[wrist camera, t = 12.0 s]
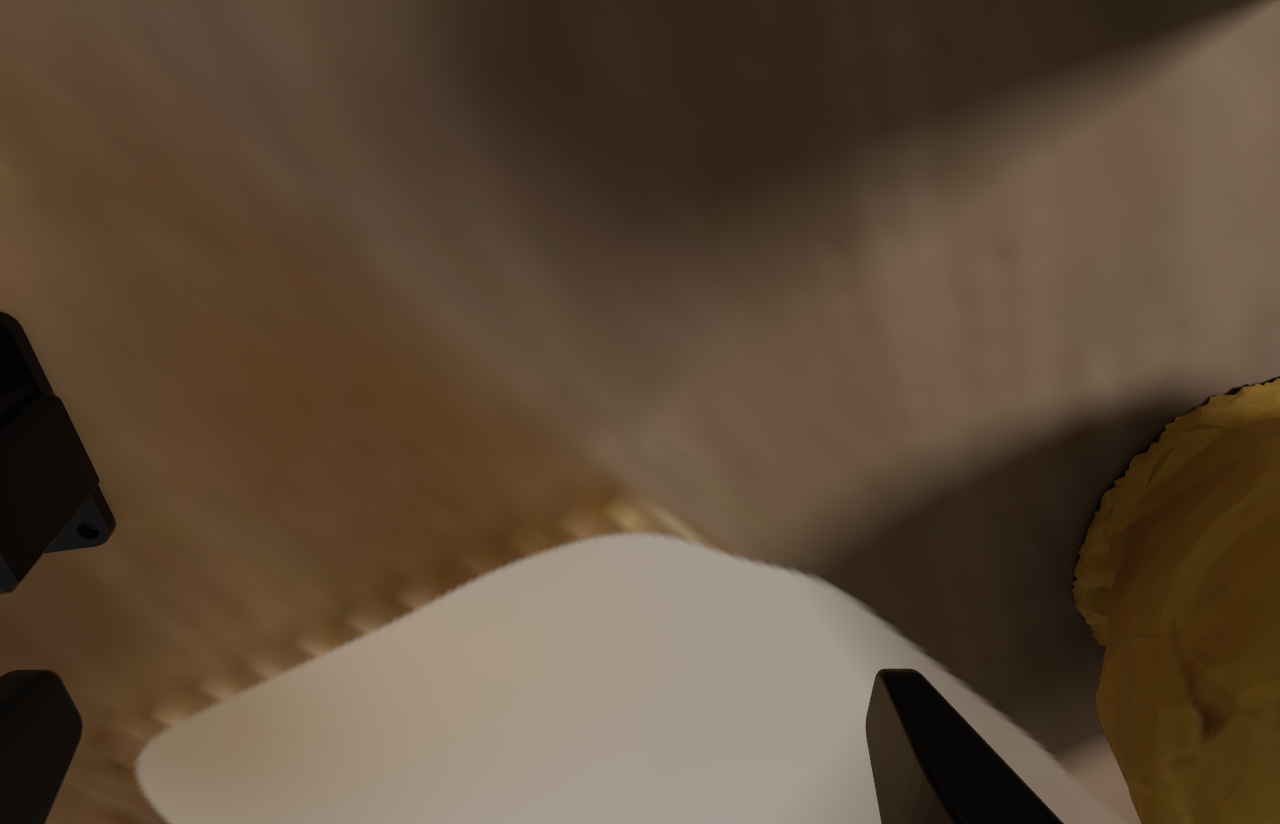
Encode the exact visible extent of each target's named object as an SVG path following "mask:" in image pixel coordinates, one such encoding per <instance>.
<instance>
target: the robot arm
mask: <svg viewBox="0 0 1280 824" xmlns="http://www.w3.org/2000/svg"><path fill="white" fill-rule="evenodd" d="M0 334H1V336H2V339H3V341H1V340H0V594H3V593H11V592H12V591H13V590H15V589H16V588H17V586H18V585H19V584H20V583H21V581H22V580H23V579H24V578H25V576H26V575H27V574H28V573H29V571H30V570H31V569H32V568H33V566H34V565H35V564H36V563H37V561H38V560H39V559H40V558H41V556H42V555H43V554H44V553H49V552H57V551H65V550H72V549H80V548H87V547H95V546H99V545H102V544H104V543H105V542H106V541H107V540H108V539H109V537H110V536H111V535H112V533H113V532H114V530H115V527H116V523H115V519H114V517H113V515H112V513H111V511H110V509H109V506H108V504H107V502H106V500H105V498H104V496H103V494H102V492H101V490H100V488H99V486H98V484H99V478H98V476H97V473H96V471H95V469H94V467H93V465H92V463H91V461H90V459H89V457H88V455H87V453H86V450H85V448H84V446H83V444H82V442H81V440H80V438H79V436H78V434H77V432H76V430H75V428H74V425H73V423H72V421H71V419H70V417H69V415H68V413H67V411H66V409H65V407H64V405H63V402H62V400H61V399H60V398H59V397H58V396H56V395H55V394H54V392H53V390H52V388H51V386H50V384H49V382H48V380H47V378H46V376H45V374H44V371H43V369H42V367H41V365H40V363H39V361H38V359H37V357H36V355H35V353H34V351H33V349H32V347H31V344H30V342H29V340H28V338H27V336H26V334H25V332H24V330H23V328H22V327H21V325H20V324H19V322H18V321H17V320H16V319H14V318H13V317H12V316H10V315H9V314H6V313H3V312H1V311H0ZM85 523H87V524H92V525H94V526H95V527H96V528H97V529H98V530H93V529H91V528H89V527H87V526H86V524H85ZM82 729H83V723H82V718H81V715H80V713H79V711H78V710H77V708H76V706H75V704H74V702H73V700H72V698H71V697H70V695H69V693H68V691H67V689H66V687H65V685H64V684H63V682H62V680H61V678H60V677H59V676H58V675H57V674H56V673H55V672H53V671H50V670H16V671H12V672H9V673H6V674H5V675H3V676H1V677H0V824H45V823H46V821H47V818H48V816H49V813H50V811H51V809H52V806H53V804H54V802H55V799H56V797H57V795H58V792H59V790H60V788H61V785H62V783H63V780H64V778H65V776H66V773H67V771H68V769H69V766H70V764H71V762H72V759H73V757H74V754H75V752H76V750H77V747H78V745H79V742H80V739H81V735H82ZM866 737H867V743H868V749H869V755H870V760H871V766H872V771H873V777H874V783H875V788H876V794H877V799H878V805H879V811H880V817H881V822H882V824H1064V823H1063V822H1062V821H1060V819H1059V818H1058V817H1057V816H1056V815H1055V814H1054V813H1053V812H1052V811H1051V810H1050V809H1049V808H1048V807H1047V806H1046V805H1045V803H1043V801H1042V800H1041V799H1040V798H1039V797H1038V796H1037V795H1036V794H1035V793H1034V792H1033V791H1032V790H1031V789H1030V788H1029V787H1028V786H1027V785H1026V783H1024V781H1023V780H1022V779H1021V778H1020V777H1019V776H1018V775H1017V774H1016V773H1015V772H1014V771H1013V770H1012V769H1011V768H1010V767H1009V766H1008V765H1007V764H1006V762H1005V761H1004V760H1003V759H1001V757H1000V756H999V755H998V754H997V753H996V752H995V751H994V750H993V749H992V748H991V747H990V746H989V745H988V744H987V743H986V742H985V740H984V739H983V738H982V737H981V736H980V735H979V734H978V733H977V732H976V731H975V730H974V729H973V728H972V727H971V726H970V725H969V724H968V723H967V721H966V720H965V719H964V718H963V717H962V716H961V715H960V714H959V713H958V712H957V711H956V710H955V709H954V708H953V707H952V706H951V705H950V704H949V703H948V702H947V700H946V699H944V697H943V696H942V695H941V694H940V693H939V692H938V691H937V690H936V689H935V688H934V687H933V686H932V685H931V684H930V683H929V682H928V681H927V679H926V678H925V677H924V676H923V675H922V674H921V673H919V672H918V671H916V670H913V669H882V670H880V671H879V672H878V673H877V675H876V677H875V681H874V685H873V690H872V695H871V698H870V703H869V707H868V712H867V717H866Z"/></svg>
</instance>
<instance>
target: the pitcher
mask: <svg viewBox="0 0 1280 824" xmlns="http://www.w3.org/2000/svg"><path fill="white" fill-rule="evenodd" d="M1165 428H1166V430H1167V431H1164V432H1162V434H1161V436H1160V439H1159V442H1156V443H1151V445H1150V447H1149V450H1148V452H1147V453H1142V454H1138V455H1136V456H1134V458H1133V459H1132V461H1131V462H1130V464H1129V467H1130V469H1129V470H1127V471H1126V472H1125V477H1123V478H1120V479H1118V480H1116V481H1114V482H1115V486H1116V487H1114V488H1112V489H1110V490H1108V491H1107V492H1106V493H1105V494H1104V496H1103V497H1102V500H1101V509H1100V510H1099V511H1098V512H1095V511H1094V512H1095V518H1094V519H1093V521H1092V524H1091V526H1090V527H1089V528H1088V532H1087V536H1086V540H1085V543H1084V545H1082V546H1081V548H1082V550H1080V551H1078V553H1079V554H1080V555H1081V557H1080V559H1079V561H1078V563H1077V566H1076V569H1075V573H1074V576H1075V577H1076V578H1077V580H1076V581H1075V582H1074V583H1073V584H1072V585H1074V586H1075V587H1074V589H1073V590H1072V592H1073V593H1074V595H1073V598H1074V600H1075V608H1076V609H1077V610H1078V611H1079V612H1080V613H1081V614H1082V615H1083V616H1084V617H1085V618H1086V619H1085V621H1084V622H1086V623H1087V624H1090V631H1093V633H1091V635H1092V636H1093V637H1094V638H1096V639H1097V640H1096V641H1097V643H1098V644H1099V645H1102V646H1106V650H1105V655H1104V661H1103V666H1102V671H1101V677H1100V682H1099V687H1098V689H1097V692H1096V695H1095V698H1096V707H1097V716H1098V718H1099V721H1100V723H1101V726H1102V728H1103V731H1104V733H1105V735H1106V737H1107V740H1108V742H1109V744H1110V747H1111V749H1112V751H1113V754H1114V756H1115V758H1116V761H1117V763H1118V765H1119V767H1120V770H1121V772H1122V774H1123V776H1124V779H1125V781H1126V783H1127V785H1128V788H1129V792H1130V797H1131V799H1132V802H1133V804H1134V807H1135V809H1136V811H1137V814H1138V816H1139V819H1140V821H1141V824H1280V378H1279V379H1276V380H1275V381H1274V382H1272V383H1268V382H1266V383H1265V384H1264V386H1263V385H1260V384H1258V383H1256V384H1255V385H1254V386H1249V387H1243V388H1242V389H1241V390H1240V391H1239V392H1238V393H1237V394H1236V395H1218V396H1214V397H1211V398H1210V400H1209V402H1208V404H1207V405H1205V406H1203V407H1201V406H1199V407H1198V408H1196V409H1195V410H1194V411H1192V412H1191V413H1185V414H1184V415H1183V416H1179V417H1176V419H1175V420H1174V422H1173V423H1167V425H1166V426H1165Z"/></svg>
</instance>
